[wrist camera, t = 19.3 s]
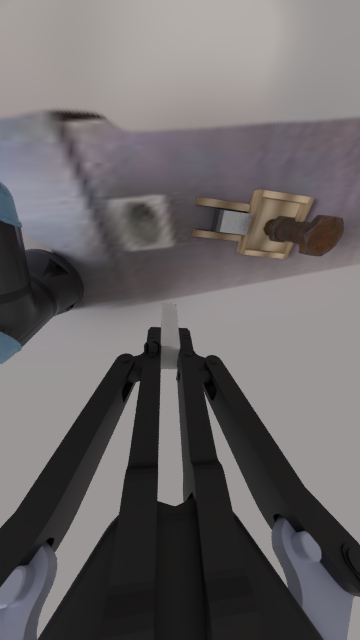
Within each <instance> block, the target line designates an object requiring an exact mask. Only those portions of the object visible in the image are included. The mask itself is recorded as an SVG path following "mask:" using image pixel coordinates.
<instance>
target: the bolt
mask: <svg viewBox="0 0 360 640" xmlns="http://www.w3.org/2000/svg"><path fill="white" fill-rule="evenodd" d="M343 229H344V223H343V218H339V217H333V216H324V215H318V216H317V217H316V218H315V219H314V220H313V221H312V222H311V223H309V222H296V221H295V218H294V217H287V216H278V217H277V218H276V219H271V220H269V221H267V222H266V224H265V227H264V228H263V230H264V232H265V234H266V235H267V236H269V240H270V241H274V242H281V243H284V242H285V241H289V242H292V243H296V244H299V253H302V254H306V255H312V256H322V255H323V254H325V253H327V252H328V251H330V250H331V249H332V248H333V247H334V246H335V245H336V244H337V242H338V241H339V239H340V238H341V236H342V233H343Z"/></svg>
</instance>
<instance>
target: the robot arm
mask: <svg viewBox="0 0 360 640" xmlns="http://www.w3.org/2000/svg"><path fill="white" fill-rule="evenodd" d="M21 227H22V224H21V222H19V219H18V216H17V212H16V208H15V204H14V200H13V197H12V195H11V193H10V191H9V190H8V189H7V187H6V186H5V185H4V184H2V183H1V182H0V364H2V363H4V362H5V361H7V360H8V359H9V358H10V357H11V356H13V355H14V354H15V353H17V352H19V351H20V350H21V349H22V347H23V346H24V345H25V344H26V343H27V342H28V341H29V340H30V339H31V338H32V337H33V336H34V335H35V334H36V333H37V332H38V331H39V330H40V329H41V328H42V327H43V326H44V325H45V324H46V323H47V322H48V321H49V320H50V319H51V318H52V317H53V316H56V315H59V314H62V313H64V312H67V311H69V310H71V309H73V308H74V307H75V306H76V305H77V304H78V303H79V302H80V300H81V298H82V296H83V284H82V281H81V279H80V277H79V275H78V273H77V272H76V271H75V269H74V268H73V267H72V266H71V265H70V264H69V263H68V262H66V261H65V260H64V259H62V258H61V257H59V256H58V255H56V254H53V253H51V252H48V251H45V250H41V249H28V250H25V248H24V243H23V237H22V232H21ZM161 319H162V320H161V327H151V328H150V329H149V330H148V337H147V342H146V343H145V345H144V352H143V353H142V354H141V355H138V356H133V355H131V354H122V355H120V356H118V357H117V359H116V360H115V362H114V363H113V365H112V366H111V368H110V369H109V371H108V372H107V374H106V375H105V377H104V378H103V380H102V381H101V383H100V384H99V386H98V388H97V389H96V390H95V392H94V394H93V395H92V397H91V398H90V400H89V401H88V403H87V404H86V406H85V407H84V409H83V410H82V412H81V413H80V415H79V416H78V418H77V419H76V421H75V422H74V424H73V425H72V427H71V428H70V430H69V432H68V433H67V434H66V436H65V437H64V439H63V440H62V442H61V444H60V445H59V447H58V448H57V450H56V451H55V453H54V454H53V456H52V457H51V459H50V460H49V462H48V463H47V465H46V466H45V468H44V469H43V471H42V472H41V474H40V475H39V477H38V479H37V480H36V481H35V483H34V484H33V486H32V487H31V489H30V490H29V492H28V494H27V495H26V497H25V498H24V500H23V501H22V503H21V504H20V506H19V507H18V509H17V510H16V512H15V513H14V514H13V515H12V516H11V517H10V518H9V519H8V520H7V521H6V522H5V524H4V525H3V526H2V527H1V528H0V640H37V625H38V619H39V616H40V613H41V609H42V607H43V604H44V602H45V600H46V598H47V596H48V594H49V592H50V589H51V587H52V585H53V582H54V579H55V576H56V571H57V557H56V555H55V551H56V550H57V548H58V547H59V545H60V543H61V541H62V539H63V538H64V536H65V534H66V532H67V531H68V529H69V527H70V525H71V523H72V521H73V519H74V517H75V515H76V513H77V511H78V509H79V507H80V504H81V502H82V500H83V498H84V496H85V494H86V491H87V489H88V487H89V485H90V482H91V480H92V478H93V476H94V474H95V471H96V469H97V467H98V464H99V462H100V460H101V458H102V456H103V454H104V451H105V449H106V447H107V445H108V443H109V440H110V438H111V436H112V434H113V432H114V429H115V427H116V425H117V423H118V421H119V418H120V416H121V414H122V412H123V410H124V407H125V405H126V403H127V401H128V398H129V396H130V394H131V392H132V389H133V387H134V385H135V383H136V382H138V381H140V386H139V394H138V400H137V407H136V414H135V420H134V428H133V435H132V441H131V448H130V456H129V462H128V467H127V469H126V474H125V479H124V485H123V492H122V498H121V506H120V512H119V515H118V516H117V517H116V518H115V519H114V521H112V522H111V524H110V525H109V526H108V528H107V529H106V531H105V532H104V534H103V535H102V537H101V538H100V540H99V542H98V543H97V545H96V546H95V548H94V550H93V551H92V553H91V555H90V556H89V558H88V560H87V561H86V563H85V564H84V566H83V568H82V569H81V571H80V572H79V574H78V575H77V577H76V579H75V580H74V582H73V583H72V585H71V587H70V589H69V590H68V592H67V593H66V595H65V596H64V598H63V600H62V601H61V603H60V605H59V606H58V608H57V609H56V611H55V612H54V614H53V616H52V618H51V619H50V620H49V622H48V624H47V625H46V627H45V629H44V630H43V632H42V633H41V635H40V637H39V638H38V640H347V634H348V628H349V621H350V615H351V608H352V602H353V598H354V596H358V597H360V545H359V543H358V542H357V541H356V540H355V539H354V538H353V537H352V536H351V535H350V534H349V533H348V532H347V531H346V530H345V529H344V528H343V526H342V525H341V524H340V523H339V522H338V521H337V520H336V519H335V518H334V517H333V516H332V515H331V514H330V513H329V512H328V511H327V510H326V509H325V508H324V507H323V505H322V504H321V503H320V502H319V501H318V500H317V499H316V498H315V497H314V496H313V495H312V494H311V493H310V492H309V491H308V490H307V489H306V488H305V487H304V485H303V484H302V482H301V480H300V479H299V477H298V476H297V474H296V473H295V471H294V470H293V468H292V467H291V465H290V464H289V462H288V461H287V459H286V458H285V456H284V455H283V453H282V452H281V450H280V449H279V447H278V445H277V444H276V443H275V441H274V439H273V438H272V436H271V435H270V433H269V432H268V431H267V429H266V427H265V426H264V424H263V423H262V422H261V420H260V418H259V417H258V415H257V414H256V412H255V411H254V410H253V408H252V407H251V405H250V403H249V402H248V400H247V399H246V397H245V396H244V394H243V393H242V391H241V389H240V388H239V386H238V385H237V383H236V382H235V380H234V379H233V377H232V376H231V374H230V373H229V371H228V370H227V368H226V367H225V365H224V364H223V362H222V361H221V360H220V358H219V357H217V356H214V355H210V356H207V357H206V358H204V357H201V356H198V355H197V354H196V353H195V352H194V350H193V346H192V340H191V336H190V331H189V330H188V329H187V328H178V320H177V310H176V305H174V304H162V318H161ZM161 369H177V370H178V371H177V377H176V380H177V383H178V398H179V413H180V430H181V445H182V462H183V500H184V503H182V504H180V505H178V506H172V505H168V504H165V503H162V502H158V501H157V489H158V444H159V442H158V441H159V408H160V372H161ZM204 392H205V395H206V397H207V399H208V401H209V403H210V405H211V408H212V409H213V412H214V414H215V416H216V418H217V420H218V422H219V425H220V427H221V429H222V431H223V434H224V436H225V438H226V440H227V442H228V444H229V447H230V448H231V451H232V453H233V455H234V457H235V459H236V462H237V464H238V466H239V468H240V470H241V472H242V475H243V477H244V479H245V481H246V483H247V485H248V488H249V490H250V492H251V494H252V496H253V498H254V500H255V502H256V504H257V506H258V508H259V510H260V511H261V513H262V515H263V517H264V518H265V520H266V522H267V523H268V525H269V526H270V528H271V529H272V546H273V550H274V552H275V554H276V556H277V558H278V560H279V562H280V564H281V566H282V568H283V571H284V573H285V576H286V580H287V585H288V588H287V586H286V585H285V584H284V582H283V581H282V579H281V578H280V576H279V575H278V574H277V572H276V571H275V569H274V568H273V567H272V565H271V564H270V562H269V561H268V559H267V558H266V556H265V555H264V554H263V552H262V551H261V549H260V548H259V547H258V545H257V544H256V542H255V541H254V539H253V538H252V537H251V535H250V534H249V532H248V531H247V529H246V528H245V527H244V525H243V524H242V522H241V521H240V520H239V518H238V517H237V516H236V515H235V513H234V512H233V511H232V506H231V501H230V497H229V492H228V488H227V483H226V479H225V474H224V470H223V468H222V465H221V464H220V462H219V461H218V458H217V454H216V449H215V445H214V440H213V435H212V430H211V426H210V420H209V415H208V410H207V406H206V401H205V395H204Z"/></svg>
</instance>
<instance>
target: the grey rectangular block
mask: <svg viewBox="0 0 360 640" xmlns="http://www.w3.org/2000/svg"><path fill="white" fill-rule="evenodd" d="M252 215H253V214H247V213H240V212H233V211H226V210H221V209H215V214H214V219H213V224H212V230H213V231H215V232H224V233H233V234H241V235H247V231H248V228H249V225H250V222H251V218H252Z"/></svg>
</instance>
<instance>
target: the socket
mask: <svg viewBox="0 0 360 640" xmlns="http://www.w3.org/2000/svg"><path fill="white" fill-rule="evenodd" d="M314 199H315V198H312V197H306V196H299V195H293V194H287V193H281V192H274V191H268V190H262V189H258V190H254V191H253V195H252V198H251V202H250V204H244V203H237V202H230V201H223V200H217V199H210V198H203V197H197V203H196V205H203V206H210V207H217V208H224V209H232V210H239V211H246V212H247V214H253V215H252V218H251V222H250V225H249V228H248V231H247V235H237V234H228V233H220V232H212V231H203V230H195V229H193V233H192V236H196V237H205V238H213V239H222V240H231V241H239V244H238V247H237V250H236V252H238V253H239V254H244V255H253V256H263V257H272V258H282V259H287V257H288V255H289V253H290V250H291V248H292V246H293V244H294V243H292V242H289V241H285V242H284V243H281V242H274V241H270V240H269V236H267V235H266V234H265V232H264V230H263V228H264V227H265V224H266V222H267V221H269V220H271V219H276V218H277V217H278V216H287V217H294V218H295V221H296V222H304V220H305V218H306V216H307V214H308V212H309V210H310V207H311V205H312V203H313V201H314Z"/></svg>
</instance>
